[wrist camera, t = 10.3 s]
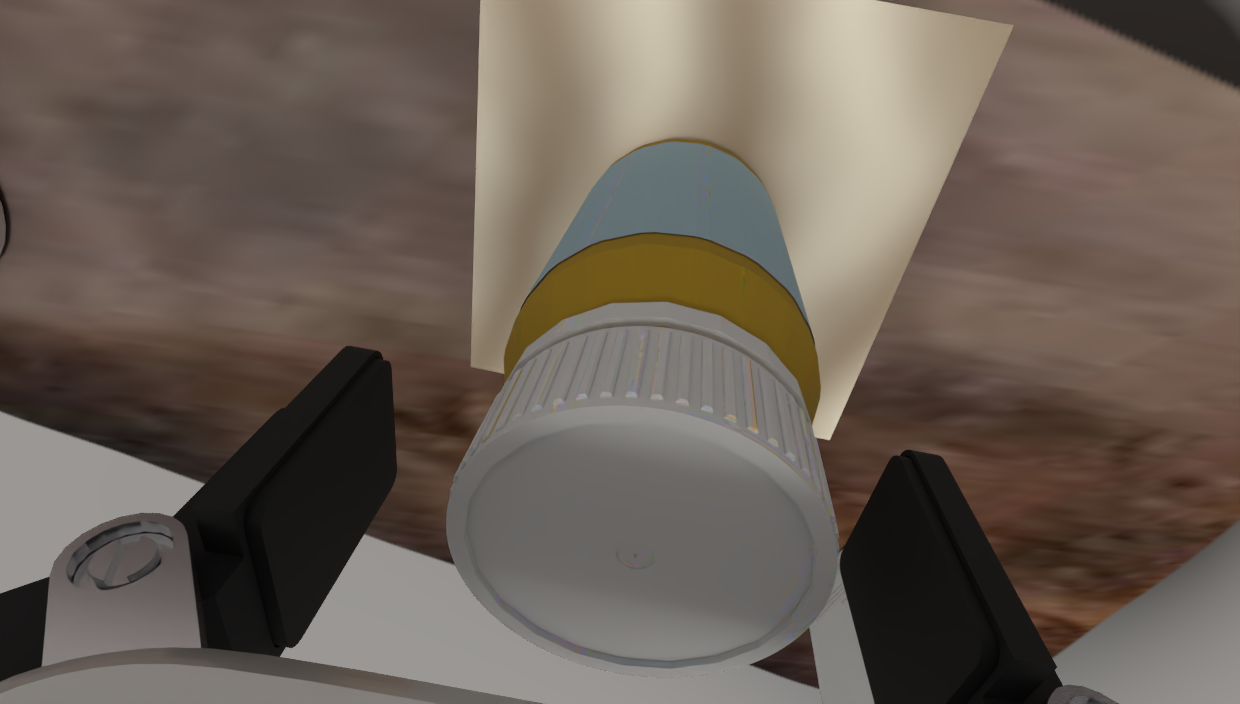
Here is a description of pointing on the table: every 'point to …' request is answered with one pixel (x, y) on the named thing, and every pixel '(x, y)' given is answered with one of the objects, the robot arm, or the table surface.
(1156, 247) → the table surface
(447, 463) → the table surface
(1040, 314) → the table surface
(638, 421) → the bottle
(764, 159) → the footstool
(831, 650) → the supplement box
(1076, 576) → the table surface
